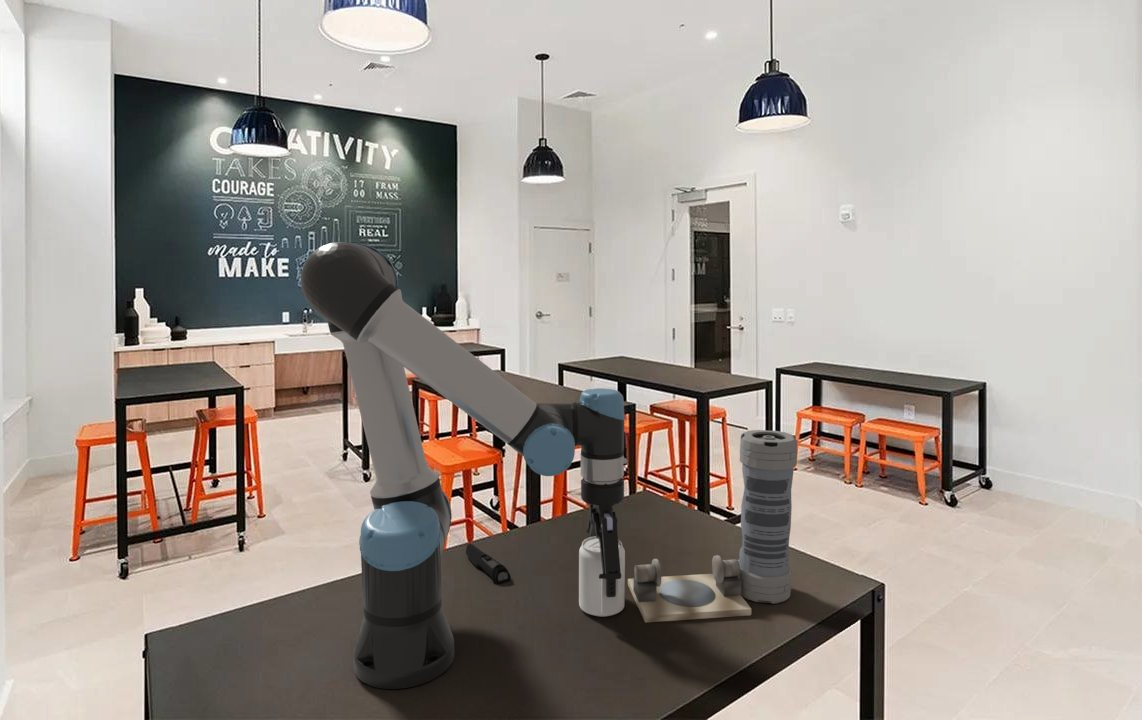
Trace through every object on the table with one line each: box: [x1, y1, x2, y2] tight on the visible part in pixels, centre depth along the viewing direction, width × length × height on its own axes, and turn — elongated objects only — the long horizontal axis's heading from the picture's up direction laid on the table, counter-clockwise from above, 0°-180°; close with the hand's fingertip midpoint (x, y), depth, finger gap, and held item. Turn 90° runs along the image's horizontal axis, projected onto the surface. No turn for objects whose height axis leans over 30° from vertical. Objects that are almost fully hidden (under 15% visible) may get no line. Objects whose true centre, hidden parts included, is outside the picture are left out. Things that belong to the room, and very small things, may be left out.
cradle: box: [627, 554, 752, 624], centre depth 122 cm, size 19×14×8 cm
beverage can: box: [578, 536, 626, 618], centre depth 118 cm, size 8×8×12 cm
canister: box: [737, 429, 799, 605], centre depth 123 cm, size 10×10×30 cm
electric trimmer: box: [465, 543, 512, 585], centre depth 135 cm, size 4×16×3 cm, turn 33°
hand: (602, 593), depth 119 cm, fingers open, 13 cm apart
